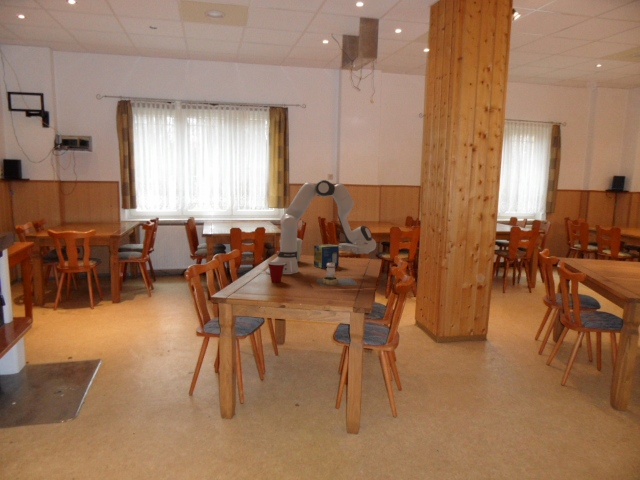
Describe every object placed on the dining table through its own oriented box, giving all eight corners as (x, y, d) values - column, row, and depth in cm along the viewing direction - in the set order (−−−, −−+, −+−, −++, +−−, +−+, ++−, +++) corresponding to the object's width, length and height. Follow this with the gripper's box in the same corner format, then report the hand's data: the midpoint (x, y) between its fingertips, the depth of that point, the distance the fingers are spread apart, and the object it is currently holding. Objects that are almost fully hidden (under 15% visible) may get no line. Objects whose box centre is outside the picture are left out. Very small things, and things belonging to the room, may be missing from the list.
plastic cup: (288, 281, 280) (289, 262, 278) (277, 284, 271) (277, 264, 269) (275, 278, 286) (275, 260, 284) (263, 282, 277) (263, 262, 275)
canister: (295, 265, 332) (296, 236, 329) (274, 262, 340) (274, 234, 337) (306, 261, 349) (307, 234, 346) (286, 259, 356) (286, 232, 353)
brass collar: (323, 285, 267) (323, 280, 266) (321, 281, 276) (321, 276, 276) (339, 284, 268) (339, 279, 268) (336, 281, 278) (336, 276, 277)
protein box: (313, 266, 330) (313, 245, 327) (330, 264, 338) (331, 243, 336) (321, 268, 321) (321, 247, 319) (338, 266, 329) (339, 245, 327)
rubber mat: (320, 287, 266) (320, 285, 265) (315, 280, 282) (315, 279, 282) (358, 286, 269) (358, 284, 269) (351, 280, 286) (351, 278, 286)
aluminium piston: (326, 284, 269) (327, 264, 268) (325, 282, 274) (325, 262, 273) (335, 284, 270) (335, 264, 269) (333, 282, 275) (334, 262, 274)
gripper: (346, 240, 301) (333, 241, 291) (371, 244, 288) (358, 246, 278) (345, 249, 302) (332, 251, 292) (371, 254, 289) (358, 256, 279)
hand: (345, 248), depth 285 cm, fingers open, 8 cm apart
